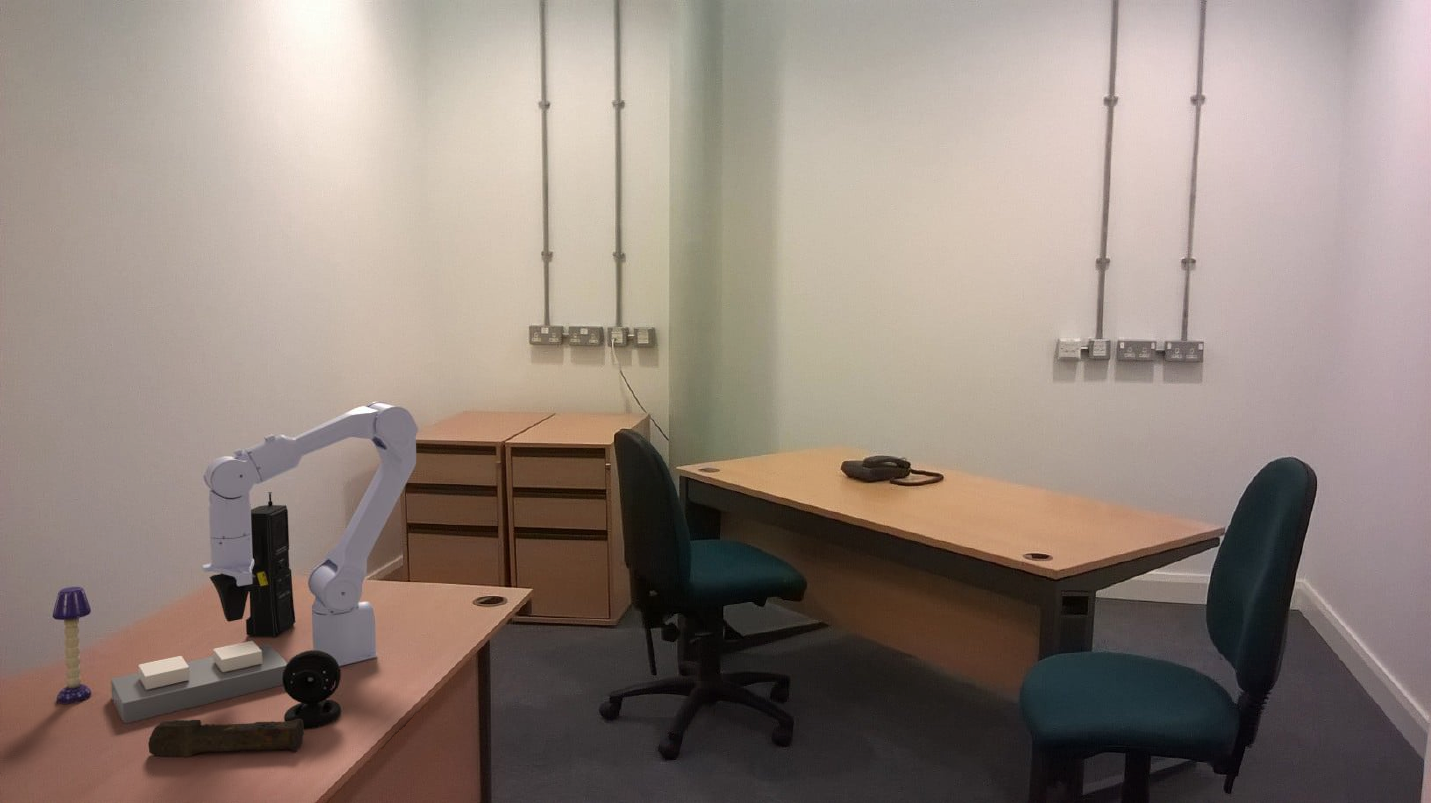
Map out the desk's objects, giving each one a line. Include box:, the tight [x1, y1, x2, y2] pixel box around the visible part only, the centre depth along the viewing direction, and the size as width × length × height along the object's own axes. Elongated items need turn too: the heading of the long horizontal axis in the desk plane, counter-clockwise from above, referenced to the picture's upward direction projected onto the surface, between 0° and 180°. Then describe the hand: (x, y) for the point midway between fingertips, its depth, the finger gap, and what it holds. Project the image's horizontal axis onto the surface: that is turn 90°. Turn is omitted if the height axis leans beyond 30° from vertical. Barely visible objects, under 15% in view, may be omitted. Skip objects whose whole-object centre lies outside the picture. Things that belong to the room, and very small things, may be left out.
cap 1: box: [138, 655, 190, 690], centre depth 134 cm, size 6×6×5 cm
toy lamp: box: [52, 586, 92, 704], centre depth 134 cm, size 5×5×17 cm
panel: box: [110, 644, 288, 725], centre depth 138 cm, size 22×11×3 cm, turn 131°
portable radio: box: [245, 491, 297, 638], centre depth 161 cm, size 8×6×25 cm
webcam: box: [282, 649, 342, 730], centre depth 129 cm, size 8×8×10 cm
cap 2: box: [212, 640, 262, 672], centre depth 141 cm, size 6×6×5 cm
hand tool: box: [147, 719, 305, 758], centre depth 120 cm, size 19×4×5 cm, turn 96°
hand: (234, 619), depth 141 cm, fingers closed
